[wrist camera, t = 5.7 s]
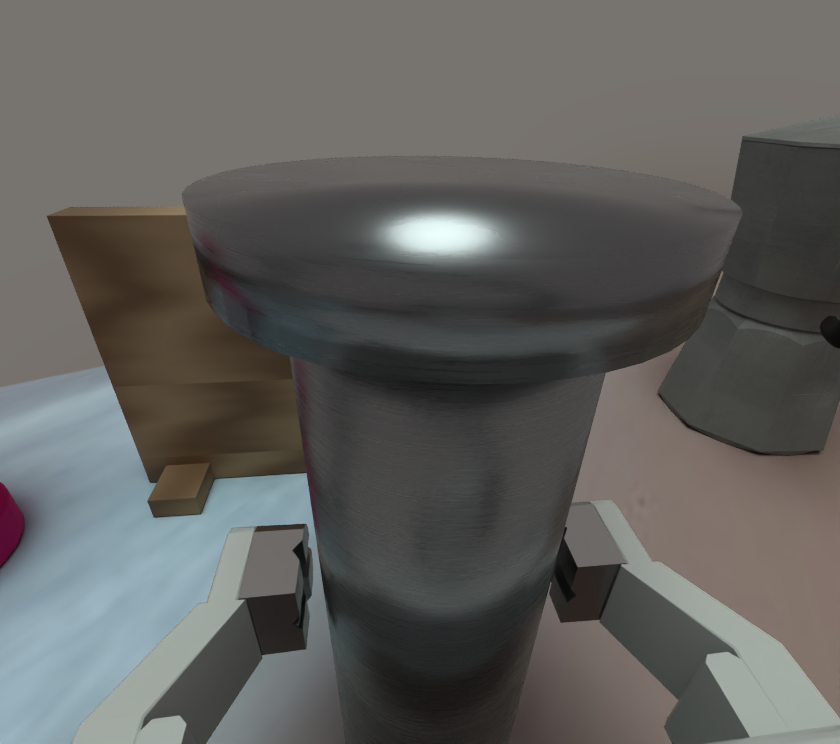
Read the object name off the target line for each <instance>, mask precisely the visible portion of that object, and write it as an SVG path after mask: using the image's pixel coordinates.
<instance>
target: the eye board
mask: <svg viewBox="0 0 840 744" xmlns="http://www.w3.org/2000/svg"><path fill="white" fill-rule="evenodd" d="M47 218H48V220H49V223H50V225H51V228H52V231H53V233H54V236H55V239H56V241H57V244H58V246H59V249H60V252H61V254H62V257H63V259H64V262H65V264H66V267H67V269H68V272H69V275H70V277H71V280H72V282H73V285H74V288H75V290H76V293H77V295H78V298H79V300H80V303H81V306H82V308H83V311H84V313H85V316H86V319H87V321H88V324H89V326H90V328H91V331H92V334H93V337H94V339H95V341H96V344H97V347H98V350H99V352H100V355H101V357H102V359H103V362H104V365H105V368H106V370H107V373H108V375H109V378H110V380H111V383H112V386H113V388H114V391H115V393H116V396H117V399H118V401H119V404H120V406H121V409H122V411H123V414H124V417H125V419H126V422H127V424H128V427H129V429H130V432H131V435H132V437H133V440H134V442H135V445H136V448H137V450H138V453H139V455H140V458H141V460H142V463H143V466H144V468H145V471H146V473H147V476H148V478H149V481H150V482H157V484H156V486H155V488H154V490H153V491H152V493H151V495H150V497H149V499H148V504H149V506H150V509H151V511H152V514H153V516H154V517H162V516H176V515H190V514H201V512H202V509H203V507H204V504H205V501H206V499H207V496H208V494H209V491H210V488H211V486H212V483H213V481H214V478H227V477H242V476H258V475H274V474H289V473H305V472H306V465H305V458H304V451H303V445H302V438H301V431H300V424H299V417H298V410H297V404H296V397H295V390H294V383H293V376H292V369H291V363H290V356H288V355H284V354H281V353H279V352H277V351H274V350H272V349H269V348H267V347H265V346H262V345H260V344H258V343H255V342H253V341H251V340H249V339H248V338H246V337H244V336H243V335H241V334H239V333H238V332H236V331H234V330H233V329H231V328H229V327H228V326H227V325H226V324H225V323H224V322H223V321H222V320H221V319H219V318H218V317H217V316H216V315H215V314H214V312H213V311H212V309H211V307H210V306H209V304H208V303H207V301H206V296H205V292H204V288H203V284H202V280H201V275H200V271H199V267H198V263H197V258H196V254H195V250H194V246H193V241H192V237H191V233H190V229H189V224H188V220H187V216H186V212H185V207H70V208H67V209H64V210H62V211H59V212H56V213H53V214H51V215H48V216H47Z"/></svg>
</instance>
